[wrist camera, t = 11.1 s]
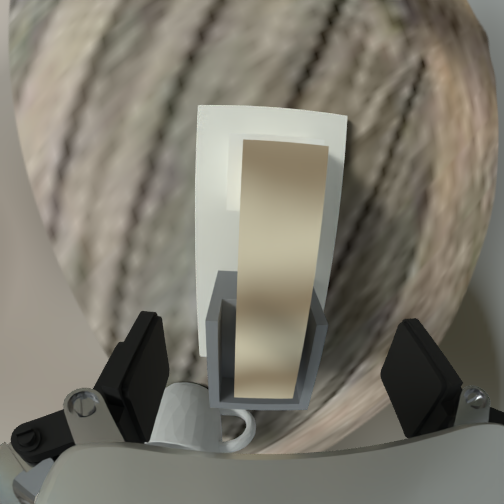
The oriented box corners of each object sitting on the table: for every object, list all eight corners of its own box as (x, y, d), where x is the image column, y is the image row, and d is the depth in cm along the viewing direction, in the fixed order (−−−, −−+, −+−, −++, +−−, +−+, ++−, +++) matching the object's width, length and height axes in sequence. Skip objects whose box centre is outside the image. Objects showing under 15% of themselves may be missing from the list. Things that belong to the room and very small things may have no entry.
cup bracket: (200, 106, 22) (171, 87, 14) (343, 116, 22) (388, 105, 14) (201, 350, 30) (187, 413, 22) (312, 354, 31) (327, 416, 22)
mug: (169, 418, 35) (154, 477, 26) (145, 374, 32) (121, 437, 23) (260, 415, 34) (261, 479, 25) (249, 368, 31) (248, 441, 22)
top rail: (245, 141, 18) (243, 139, 13) (309, 145, 18) (328, 146, 13) (237, 352, 23) (234, 397, 18) (286, 353, 23) (292, 398, 19)
